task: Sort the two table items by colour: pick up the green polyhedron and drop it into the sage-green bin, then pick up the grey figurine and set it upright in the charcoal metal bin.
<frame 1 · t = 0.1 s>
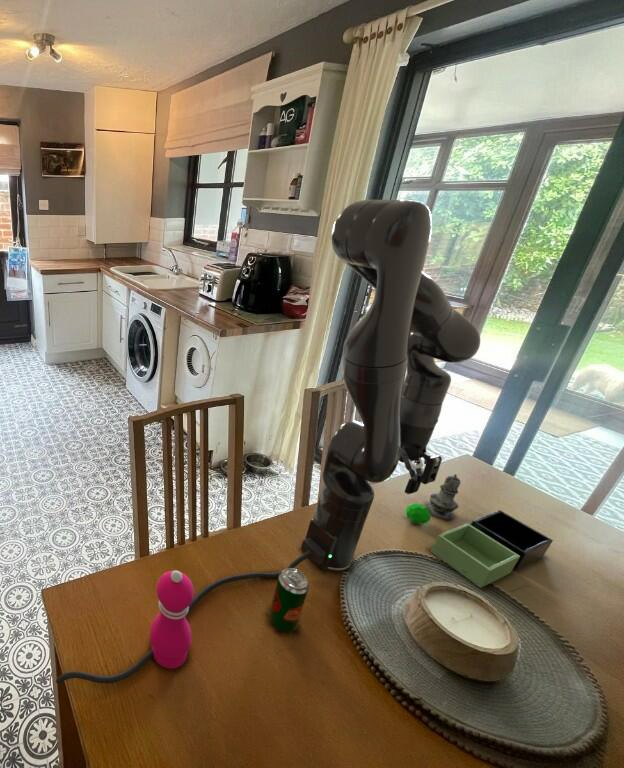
hand: (390, 480, 90), 17 cm above the table, tool pointing down, fingers open, 8 cm apart
green bin: (469, 562, 91), on the table
pepper mill: (168, 651, 73), on the table
grey figurine: (438, 512, 105), on the table
charcoal bin: (502, 546, 95), on the table
polyhedron: (414, 521, 102), on the table
soda can: (282, 622, 78), on the table
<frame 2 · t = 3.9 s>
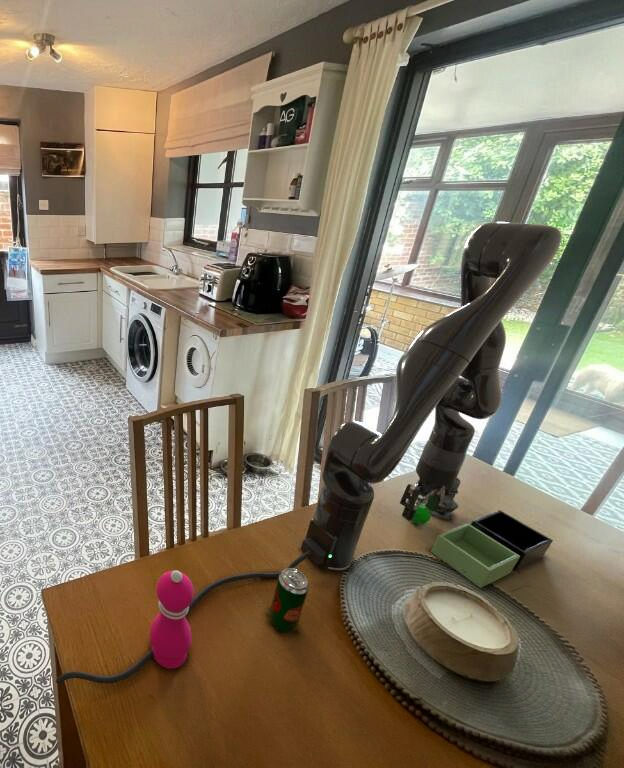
hand: (418, 513, 101), 2 cm above the table, tool pointing down, fingers open, 8 cm apart
grey figurine: (438, 512, 105), on the table, touching gripper, hand
everything else where it was.
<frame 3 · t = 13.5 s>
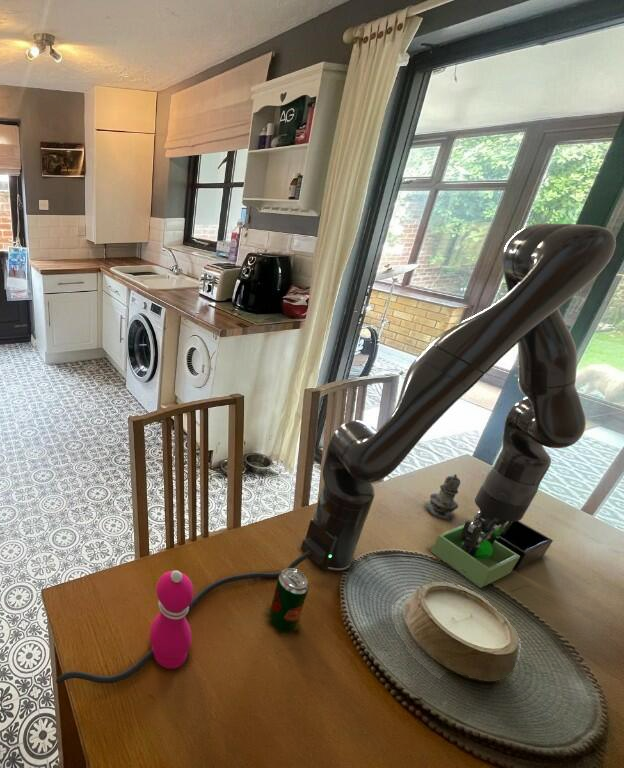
hand: (473, 552, 90), 3 cm above the table, tool pointing down, fingers closed on polyhedron, 5 cm apart
grey figurine: (438, 512, 105), on the table
polyhedron: (472, 555, 90), point 2 cm above the table, touching gripper
everything else where it was.
when the fingers open (8 cm above the table, at t = 33.7 s): polyhedron stays where it is, resting on green bin.
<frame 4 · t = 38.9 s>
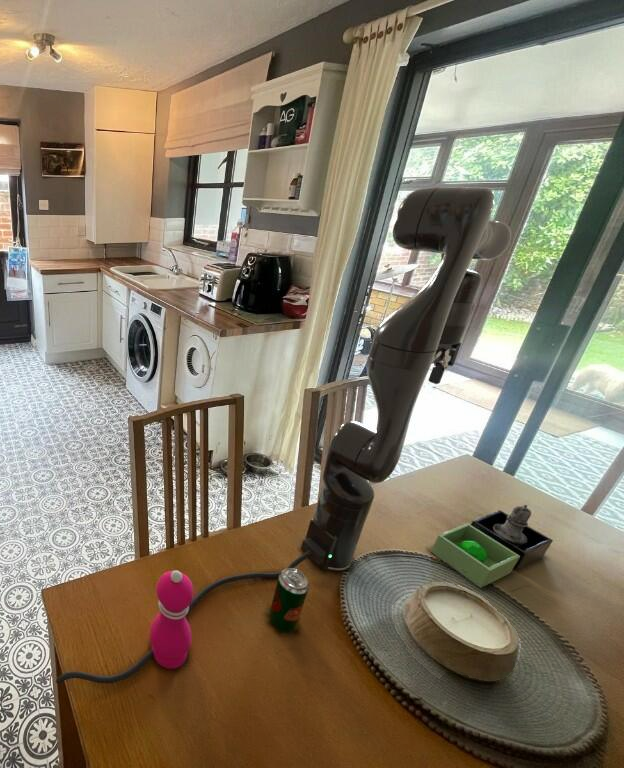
hand: (421, 385, 97), 33 cm above the table, tool pointing down, fingers open, 8 cm apart
grey figurine: (503, 545, 95), resting on charcoal bin
polyhedron: (467, 560, 91), resting on green bin
everything else where it was.
at the end: polyhedron inside the target area in the green bin (0.7 cm from its centre), point 0.4 cm above the green bin's base; grey figurine inside the target area in the charcoal bin (0.0 cm from its centre), point 0.4 cm above the charcoal bin's base; grey figurine tilted 0° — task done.
